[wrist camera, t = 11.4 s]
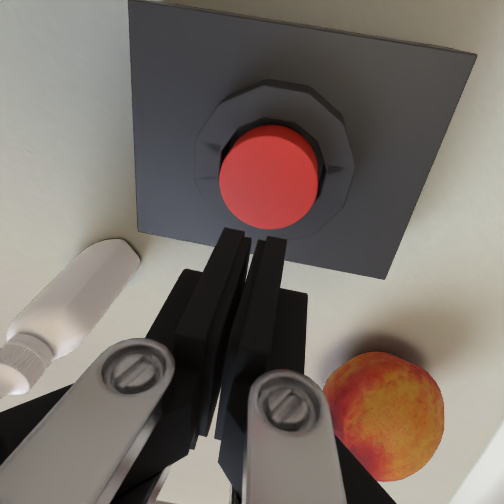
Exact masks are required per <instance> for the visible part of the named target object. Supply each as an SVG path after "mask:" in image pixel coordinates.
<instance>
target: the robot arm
mask: <svg viewBox="0 0 504 504" xmlns="http://www.w3.org/2000/svg"><path fill="white" fill-rule="evenodd" d="M251 242H252V238H249V237H245V231H242V230H237V229H231V228H226V227H224V229H223V231H222V233H221V235H220V237H219V239H218V242H217V244H216V246H215V248H214V250H213V252H212V254H211V256H210V258H209V260H208V263H207V265H206V267H205V269H204V271H203V272H199V271H194V270H190V269H184V270H183V272H182V273H181V275H180V276H179V278H178V280H177V282H176V284H175V285H174V287H173V289H172V291H171V293H170V294H169V296H168V298H167V300H166V301H165V303H164V305H163V307H162V309H161V310H160V312H159V314H158V316H157V318H156V319H155V321H154V323H153V325H152V326H151V328H150V330H149V332H148V334H147V335H146V337H145V338H132V339H128V340H124V341H120V342H118V343H116V344H114V345H112V346H110V347H109V348H107V349H106V350H105V351H104V352H103V353H101V354H100V355H99V356H98V358H97V359H96V360H95V361H94V362H93V363H92V364H91V365H90V366H89V368H88V369H87V370H86V371H85V372H84V373H83V374H82V375H81V377H80V378H79V379H78V380H77V381H76V382H75V383H74V384H71V385H68V386H66V387H63V388H61V389H58V390H56V391H53V392H51V393H48V394H46V395H43V396H41V397H38V398H36V399H33V400H31V401H28V402H25V403H23V404H20V405H18V406H15V407H13V408H10V409H8V410H5V411H3V412H0V504H154V502H155V500H156V498H157V496H158V494H159V492H160V490H161V488H162V486H163V484H164V482H165V480H166V478H167V476H168V474H169V471H170V468H171V465H172V464H173V463H175V462H176V461H178V460H180V459H181V458H183V457H185V456H187V455H188V452H189V449H193V450H194V449H195V446H196V442H197V439H198V436H199V435H201V436H205V437H207V435H208V432H209V429H210V425H211V422H212V418H213V414H214V411H215V407H216V404H217V400H218V396H219V393H220V389H221V393H220V401H219V408H218V415H217V422H216V430H215V437H214V439H218V440H221V446H220V452H219V458H218V463H219V465H220V466H221V468H222V469H223V471H224V473H225V474H226V476H227V478H228V479H229V481H230V483H231V486H230V495H229V504H396V502H395V501H394V500H393V499H392V498H391V497H390V496H389V495H388V493H387V492H386V491H385V490H384V489H383V488H382V487H381V486H380V484H379V483H378V482H377V481H376V480H375V479H374V478H373V477H372V475H371V474H370V473H369V472H368V471H367V470H366V469H365V468H364V466H363V465H362V464H361V463H360V462H359V461H358V460H357V459H356V457H355V456H354V455H353V454H352V453H351V452H350V451H349V450H348V448H347V447H346V446H345V445H344V444H343V443H342V442H341V440H340V439H339V438H338V437H337V436H336V435H335V434H334V431H333V426H332V420H331V415H330V409H329V405H328V402H327V399H326V396H325V394H324V393H323V391H322V390H321V388H320V387H319V386H318V384H316V383H315V382H314V381H313V380H312V379H310V378H309V377H307V376H305V375H304V364H305V344H306V323H307V303H308V295H307V293H302V292H297V291H292V290H287V289H282V288H280V284H281V278H282V271H283V265H284V258H285V252H286V246H287V239H282V238H277V237H272V236H267V238H266V241H264V240H259V239H258V241H257V245H256V248H255V251H254V255H253V258H252V262H251V265H250V268H249V272H248V275H247V268H248V262H249V255H250V249H251ZM246 275H247V279H246ZM245 281H246V282H245ZM221 385H222V386H221Z"/></svg>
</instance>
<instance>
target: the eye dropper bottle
mask: <svg viewBox="0 0 504 504" xmlns="http://www.w3.org/2000/svg"><path fill="white" fill-rule="evenodd" d="M139 265H140V259H139V257H138V256H137V254H136V253H135V252H134V251H133V249H132V248H131V247H130V246H129V245H128V243H127V242H125V241H124V240H121V239H110V240H104V241H100V242H97V243H95V244H93V245H91V246H89V247H87V248H86V249H85V250H83V251H82V252H81V253H80V254H79V255H78V256H77V257H76V258H75V259H74V260H73V261H72V262H71V263H70V264H69V265H68V266H67V267H66V268H65V269H64V270H63V271H62V272H61V273H60V274H59V275H58V276H57V277H56V278H55V279H54V280H53V281H52V282H50V283H49V284H48V285H47V286H46V287H45V288H44V289H43V290H42V291H41V292H40V293H39V294H38V295H37V296H36V297H35V298H34V299H33V300H32V301H31V302H30V303H29V304H28V305H27V306H26V307H25V308H24V309H23V310H22V311H21V312H20V313H19V314H18V315H17V316H16V318H15V319H14V320H13V321H12V323H11V324H10V326H9V328H8V330H7V335H6V338H7V342H6V343H5V344H4V345H3V346H2V348H1V349H0V400H2V399H3V398H4V397H5V396H6V395H8V394H14V395H21V394H25V393H27V392H29V391H30V389H31V388H32V387H33V385H34V384H35V383H36V382H37V380H38V379H39V378H40V376H41V375H42V374H43V373H44V371H45V370H46V369H47V367H48V366H49V365H50V364H51V362H52V360H56V359H58V358H61V357H63V356H65V355H67V354H68V353H70V352H72V351H73V350H74V349H76V348H77V347H78V346H79V345H80V344H81V343H82V342H83V341H84V340H85V339H86V338H87V337H88V335H89V334H90V333H91V331H92V330H93V329H94V327H95V326H96V325H97V323H98V322H99V321H100V319H101V318H102V317H103V315H104V314H105V313H106V311H107V310H108V308H109V307H110V306H111V304H112V303H113V302H114V300H115V299H116V297H117V296H118V295H119V293H120V292H121V291H122V289H123V288H124V286H125V285H126V284H127V282H128V281H129V280H130V278H131V277H132V275H133V274H134V273H135V271H136V270H137V268H138V267H139Z"/></svg>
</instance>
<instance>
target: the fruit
mask: <svg viewBox="0 0 504 504" xmlns="http://www.w3.org/2000/svg"><path fill="white" fill-rule="evenodd" d="M323 393H324V394H325V396H326V399H327V402H328V405H329V409H330V415H331V420H332V426H333V431H334V434H335V435H336V436H337V437H338V438H339V439H340V440H341V442H342V443H343V444H344V445H345V446H346V447H347V448H348V450H349V451H350V452H351V453H352V454H353V455H354V456H355V457H356V459H357V460H358V461H359V462H360V463H361V464H362V465H363V466H364V468H365V469H366V470H367V471H368V472H369V473H370V474H371V475H372V477H373V478H374V479H375V480H376V481H382V482H387V481H396V480H401V479H404V478H406V477H408V476H410V475H412V474H414V473H415V472H417V471H418V470H420V469H421V468H422V467H423V466H424V465H425V464H426V463H427V462H428V461H429V460H430V459H431V458H432V456H433V454H434V453H435V451H436V449H437V447H438V445H439V443H440V442H441V438H442V435H443V431H444V402H443V398H442V395H441V391H440V389H439V387H438V385H437V383H436V382H435V380H434V379H433V378H432V377H431V376H430V375H429V373H428V372H427V371H425V370H424V369H423V368H421V367H420V366H418V365H415V364H413V363H410V362H408V361H406V360H403V359H401V358H399V357H396V356H394V355H392V354H389V353H385V352H368V353H363V354H360V355H358V356H356V357H354V358H352V359H351V360H349V361H347V362H346V363H345V364H343V365H342V366H341V367H339V368H338V369H337V370H335V371H334V372H333V373H332V374H331V376H330V377H329V378H328V380H327V382H326V384H325V386H324V388H323Z"/></svg>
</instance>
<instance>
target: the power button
mask: <svg viewBox="0 0 504 504" xmlns="http://www.w3.org/2000/svg"><path fill="white" fill-rule="evenodd" d="M219 186H220V191H221V195H222V197H223V200H224V202H225V204H226V205H227V207H228V208H229V210H230V211H231V212H232V213H233V214H234V215H235V216H236V217H237V218H238V219H240V220H241V221H243V222H245V223H247V224H249V225H251V226H254V227H257V228H262V229H279V228H283V227H287V226H289V225H292V224H294V223H296V222H297V221H299V220H300V219H301V218H302V217H304V216H305V215H306V214H307V212H308V211H309V210H310V208H311V207H312V205H313V203H314V201H315V199H316V195H317V191H318V162H317V158H316V155H315V153H314V150H313V149H312V147H311V145H310V144H309V142H308V141H307V140H306V139H305V138H304V137H303V136H302V135H300V134H299V133H298V132H296V131H294V130H292V129H290V128H288V127H285V126H281V125H263V126H259V127H255V128H253V129H251V130H249V131H247V132H246V133H244V134H243V135H242V136H241V137H240V138H239V139H238V140H237V141H236V142H235V144H234V145H233V147H232V149H231V150H230V152H229V153H228V155H227V156H226V158H225V159H224V161H223V164H222V166H221V170H220V175H219Z"/></svg>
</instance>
